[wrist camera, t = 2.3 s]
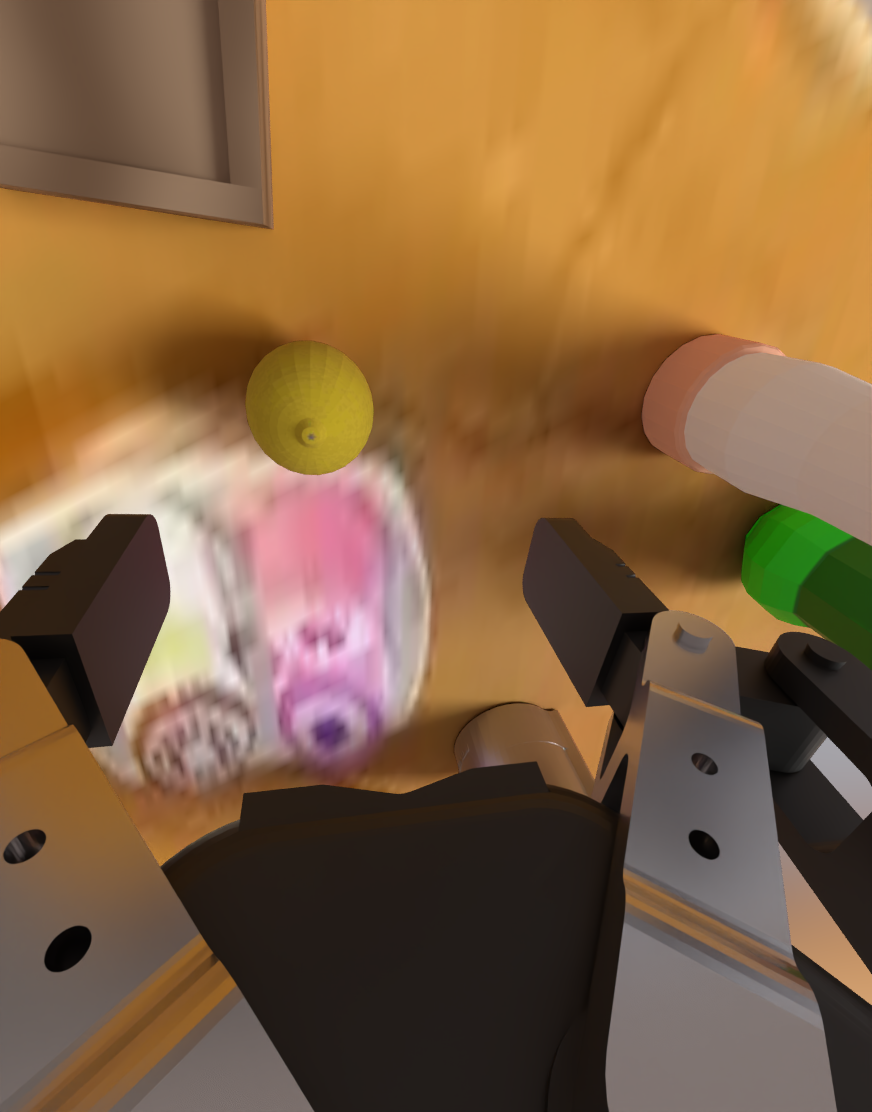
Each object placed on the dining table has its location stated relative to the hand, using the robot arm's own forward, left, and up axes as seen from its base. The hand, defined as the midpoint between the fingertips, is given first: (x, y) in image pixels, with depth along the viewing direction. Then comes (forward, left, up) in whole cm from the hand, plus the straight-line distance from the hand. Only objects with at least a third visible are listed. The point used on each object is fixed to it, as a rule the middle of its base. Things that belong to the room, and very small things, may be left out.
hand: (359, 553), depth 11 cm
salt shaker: (-22, +1, -18) cm, 28 cm away
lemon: (+1, +1, -18) cm, 18 cm away
